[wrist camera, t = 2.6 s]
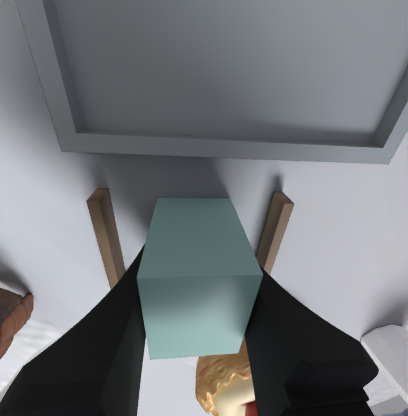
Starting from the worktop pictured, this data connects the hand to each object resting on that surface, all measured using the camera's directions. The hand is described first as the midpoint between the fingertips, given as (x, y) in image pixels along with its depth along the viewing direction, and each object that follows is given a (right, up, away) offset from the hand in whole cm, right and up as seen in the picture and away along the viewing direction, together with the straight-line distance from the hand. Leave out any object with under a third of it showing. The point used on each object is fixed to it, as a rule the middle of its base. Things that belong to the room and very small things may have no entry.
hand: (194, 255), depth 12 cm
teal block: (0, +1, +2) cm, 2 cm away
